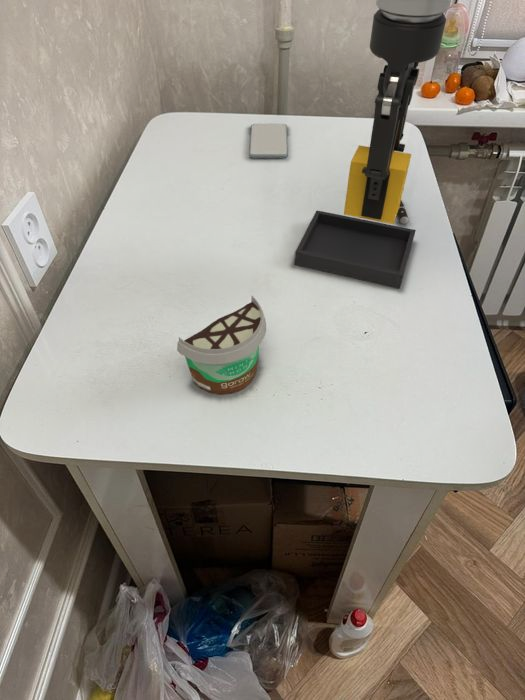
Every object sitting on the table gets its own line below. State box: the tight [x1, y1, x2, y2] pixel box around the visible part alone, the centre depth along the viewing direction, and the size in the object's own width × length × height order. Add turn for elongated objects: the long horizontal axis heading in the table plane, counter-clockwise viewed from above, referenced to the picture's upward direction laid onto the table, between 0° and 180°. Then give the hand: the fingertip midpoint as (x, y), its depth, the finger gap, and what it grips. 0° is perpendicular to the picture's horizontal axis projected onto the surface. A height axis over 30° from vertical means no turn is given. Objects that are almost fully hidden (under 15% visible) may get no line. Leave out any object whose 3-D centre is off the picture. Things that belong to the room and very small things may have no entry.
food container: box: [176, 295, 267, 396], centre depth 64 cm, size 12×6×10 cm, turn 129°
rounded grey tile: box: [248, 123, 289, 159], centre depth 111 cm, size 8×1×15 cm
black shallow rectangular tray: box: [294, 210, 417, 290], centre depth 84 cm, size 18×13×3 cm
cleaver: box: [396, 199, 410, 225], centre depth 96 cm, size 17×1×5 cm
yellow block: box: [343, 145, 412, 225], centre depth 68 cm, size 7×4×8 cm, turn 70°
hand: (375, 205), depth 70 cm, fingers closed on yellow block, 4 cm apart
